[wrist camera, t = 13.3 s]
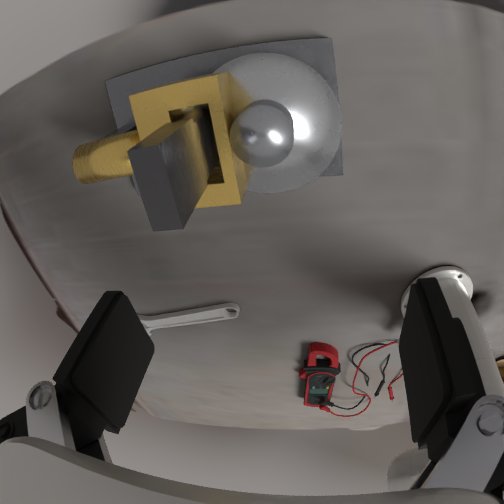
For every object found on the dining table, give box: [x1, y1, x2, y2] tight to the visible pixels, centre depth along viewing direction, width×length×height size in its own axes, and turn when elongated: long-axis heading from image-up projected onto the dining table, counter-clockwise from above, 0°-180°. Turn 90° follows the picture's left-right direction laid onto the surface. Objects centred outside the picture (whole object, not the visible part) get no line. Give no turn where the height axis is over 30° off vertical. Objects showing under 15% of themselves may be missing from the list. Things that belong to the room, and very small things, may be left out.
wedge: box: [127, 108, 220, 231], centre depth 22 cm, size 2×5×12 cm, turn 9°
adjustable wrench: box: [137, 303, 240, 336], centre depth 53 cm, size 25×6×2 cm, turn 106°
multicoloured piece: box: [72, 38, 343, 208], centre depth 28 cm, size 25×15×11 cm, turn 99°
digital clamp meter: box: [299, 341, 403, 417], centre depth 57 cm, size 23×4×25 cm
